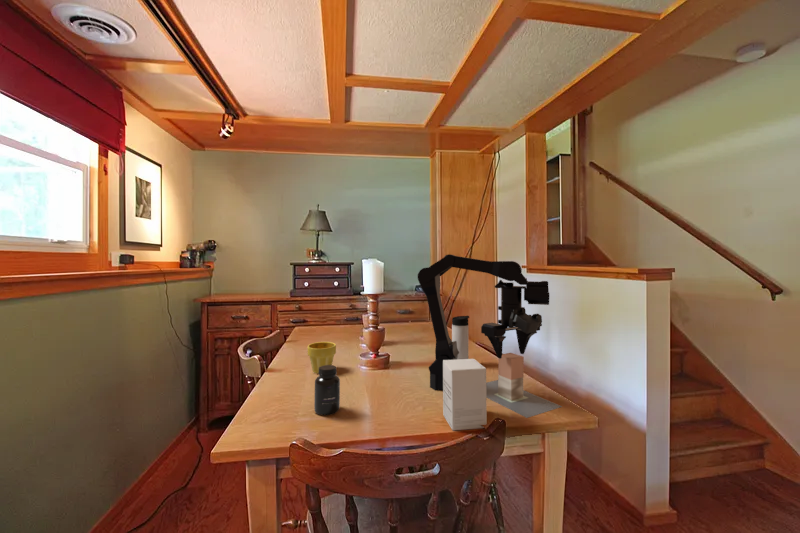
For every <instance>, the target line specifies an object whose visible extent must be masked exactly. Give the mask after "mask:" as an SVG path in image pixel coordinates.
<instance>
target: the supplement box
mask: <svg viewBox="0 0 800 533" xmlns="http://www.w3.org/2000/svg"><path fill="white" fill-rule="evenodd" d="M486 382H487V368H486V367H485V366H484V365H482V364H481V363H480V362H479V361H478V360H476V359H475V358H468V359H457V360H443V391H442V410H443V411H442V414H443V417H444V419H445V420H446V422H447V424H448V425H449V427H450V429H451V430H452V431H463V430H464V431H465V430H475V429H485V427H484V426H483V425H487V423H488V422H487V418H488V417H487V414H488V413H487V411H488V410H487V398H486Z"/></svg>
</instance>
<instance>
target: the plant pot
mask: <svg viewBox="0 0 800 533" xmlns="http://www.w3.org/2000/svg"><path fill="white" fill-rule="evenodd" d="M336 353H337V344H336V343H334V342H331V341H318V342H313V343H309V344H308V345H307V357H308V356H309V360H310V365H311V369H312V373H314V374H318V372H319V367H320V366H323V365H333V362H334V356H335V355H336Z"/></svg>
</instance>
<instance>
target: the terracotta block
mask: <svg viewBox="0 0 800 533" xmlns="http://www.w3.org/2000/svg"><path fill="white" fill-rule="evenodd" d="M524 364H525V363H524V356H522V355H519V354H516V353H513V352H507V353H502V358H498V374H497V376H498V375H500V376H503V377H505V378H508V379H510V380H513V379H517V378H522V377H523V378H524V377H525V376H524V368H525V367H524Z"/></svg>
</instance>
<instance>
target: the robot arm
mask: <svg viewBox="0 0 800 533" xmlns="http://www.w3.org/2000/svg"><path fill="white" fill-rule="evenodd" d="M452 268H455V269H462V270H466V271H468V270H469V271H473V272H480V273H486V274H489V275H492V276H493V277H497V278H500V279H499V281H498V283H496V284H495V285H494V288H495V289H500V291H501V292H500V295H501V296H500V305H498V306H497V310H498V311H499V310H500V315H501V316H500V319H498V320H497V323H495V322H487V323H484V322H483V324H481V326H480V328H481V331H480V334H483V335H484V336H485V337H487V339H488V340H489V341H490V344H491V345H492V348H493V350H494V353H495V354H496V356H497V358H498V359H499V358H502V354H503V344H504V340H505V339H506V337H507V336H505V334H506V332H508V331H515V333H516V339H517V343H518V344H517V345H518V351H519V354H521V355H524V354H525V352H526V349H527V346H528V343H529V342H530V339H531V337H532V336H533V335H535V334H537V333H538V331H541V327H542V326H543V324H542V322H543V319H542V315H541V314H540V313H533V314H527V313H526V312H527V311H526V308H525V306H524V307H523V306H522V302H523V301H525V302H527V304H528V305H537V306H538V305H539V306H540V305H544V306H550V291H549V281H548V280H542V281H535V280H534V281H528V280H527V277H525V276H524V275H523V273H522V267H521V265H520V263H519V262H518V261H514V260H510V261H509V260H507V261H506V260H503V261H499V260H496V261H493V260H492V261H490V260H484V259H478V258H471V257H466V256H465V257H464V256H458V255H455V254H451V253H450V254H445V255H444V256H443V257H442V258H441V259H439V260H438V261H436V262H435V263H433V264H431V265H430V266H428V267H423V268H421V269H419V271H418V273H417V280H418V283H419V286H420V288H421V290H422V292H423V294H425V297H426V300H427V306H428V310H429V313H430V319H431V324H432V327H433V332H434V338H435V350H434V353H435V355H434V356H435V360H434V361H433V362H432V363H431V364H430V365H429V367H428V371H429V388H430V389H432V390H434V391H440V392H441V391H442V392H443V360H457V358H458V354H459V351H458V349H457V341H454V342H452V338H451V337H450V335H449V330H448V326H447V321H446V316H445V311H444V307H443V304H442V303H443V302H442V298H441V276H443V275H444V274H445V273H447V272H448V271H449V270H451V269H452ZM503 280H505V281H509V282H504V281H503ZM513 281H514V282H515V283H517V284H519V285H514V284H515V283H514V282H513ZM522 290H523V292H522ZM522 293H523V301H522Z"/></svg>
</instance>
